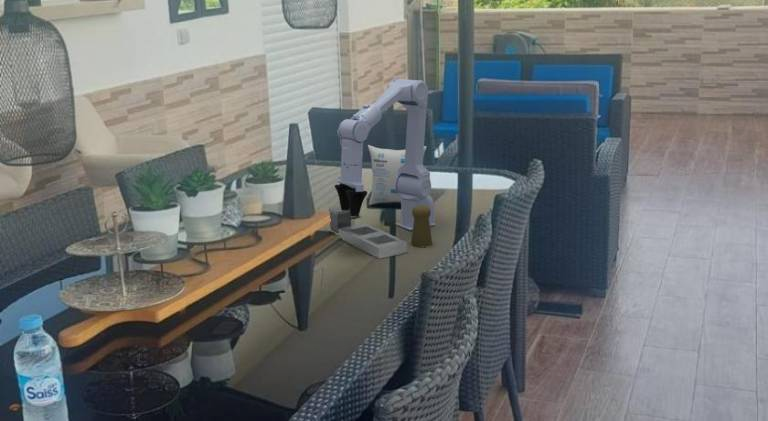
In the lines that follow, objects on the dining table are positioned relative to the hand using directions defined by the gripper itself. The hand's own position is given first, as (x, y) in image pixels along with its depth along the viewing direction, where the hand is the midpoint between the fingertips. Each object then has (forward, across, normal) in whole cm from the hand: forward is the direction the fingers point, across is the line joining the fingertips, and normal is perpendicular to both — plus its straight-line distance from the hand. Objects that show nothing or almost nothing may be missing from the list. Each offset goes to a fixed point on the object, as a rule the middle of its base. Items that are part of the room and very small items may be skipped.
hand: (349, 213), depth 249 cm
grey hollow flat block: (+10, -1, +8) cm, 12 cm away
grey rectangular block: (+10, -17, +4) cm, 20 cm away
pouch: (+6, -36, +30) cm, 47 cm away
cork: (+9, +4, +20) cm, 23 cm away
